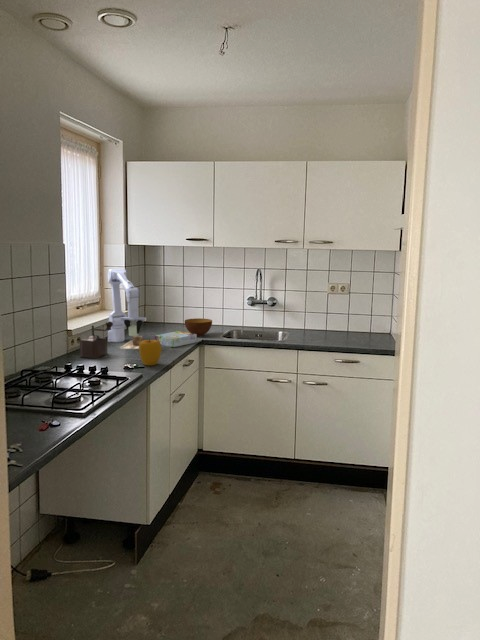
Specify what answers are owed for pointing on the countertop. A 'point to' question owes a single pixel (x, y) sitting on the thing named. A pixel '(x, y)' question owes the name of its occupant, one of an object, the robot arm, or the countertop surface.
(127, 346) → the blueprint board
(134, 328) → the sage block
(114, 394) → the countertop surface
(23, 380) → the countertop surface
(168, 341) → the snack box
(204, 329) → the bowl
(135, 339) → the walnut block
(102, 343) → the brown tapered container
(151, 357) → the yellow bell pepper
